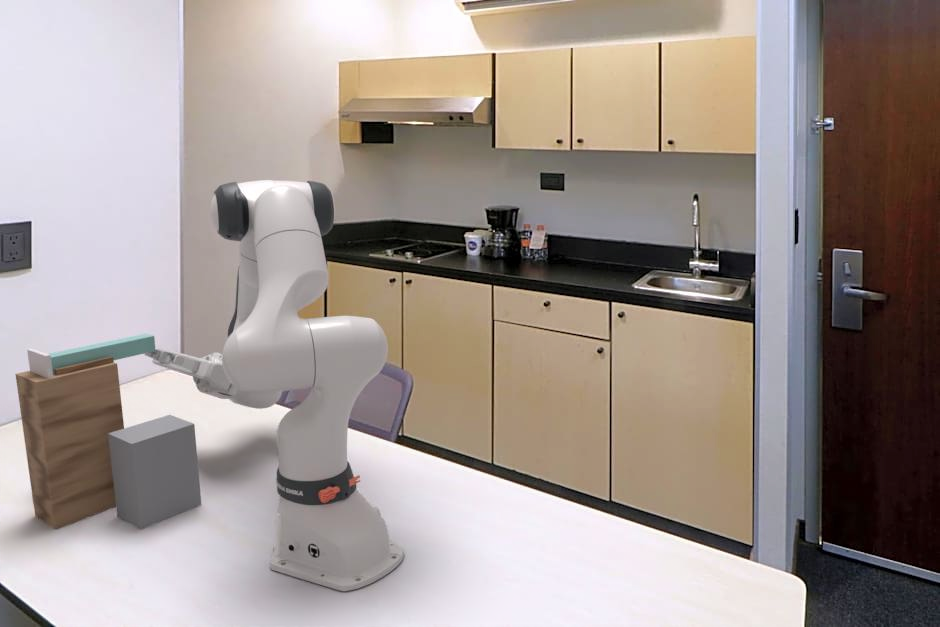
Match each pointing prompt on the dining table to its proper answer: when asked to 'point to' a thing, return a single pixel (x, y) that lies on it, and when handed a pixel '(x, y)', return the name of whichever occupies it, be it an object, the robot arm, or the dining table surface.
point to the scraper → (89, 354)
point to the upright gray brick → (154, 470)
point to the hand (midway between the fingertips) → (160, 354)
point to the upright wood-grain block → (71, 439)
